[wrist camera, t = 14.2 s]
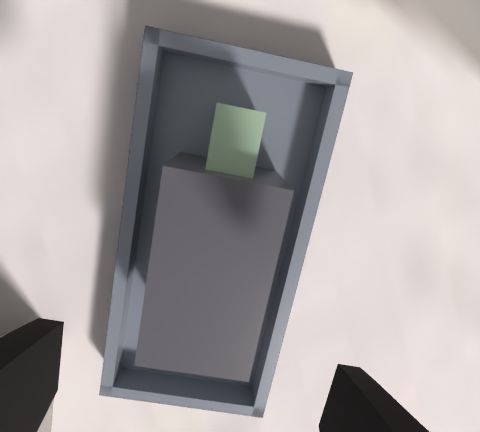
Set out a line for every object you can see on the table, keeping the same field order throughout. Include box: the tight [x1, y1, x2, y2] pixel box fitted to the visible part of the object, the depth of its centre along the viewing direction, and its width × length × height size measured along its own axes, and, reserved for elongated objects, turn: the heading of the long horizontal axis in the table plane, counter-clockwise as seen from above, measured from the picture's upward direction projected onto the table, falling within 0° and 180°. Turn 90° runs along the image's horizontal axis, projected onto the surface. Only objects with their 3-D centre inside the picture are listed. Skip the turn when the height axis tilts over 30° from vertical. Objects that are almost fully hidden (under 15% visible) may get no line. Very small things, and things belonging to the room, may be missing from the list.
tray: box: [99, 26, 353, 418], centre depth 18 cm, size 9×18×2 cm, turn 169°
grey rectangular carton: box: [134, 103, 294, 382], centre depth 16 cm, size 10×5×5 cm, turn 169°
